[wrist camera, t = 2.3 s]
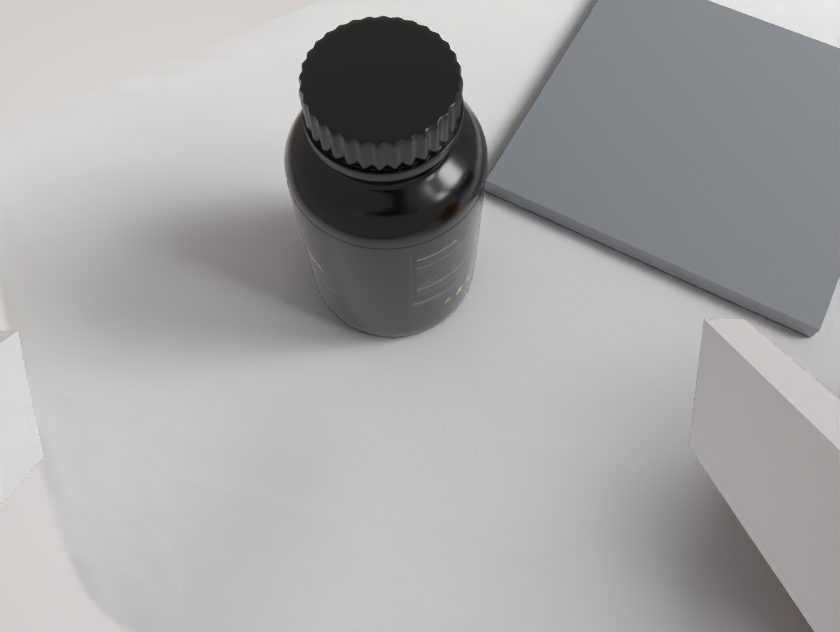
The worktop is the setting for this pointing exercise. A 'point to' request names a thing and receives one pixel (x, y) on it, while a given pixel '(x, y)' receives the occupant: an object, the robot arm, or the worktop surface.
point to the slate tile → (693, 152)
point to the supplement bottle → (387, 175)
